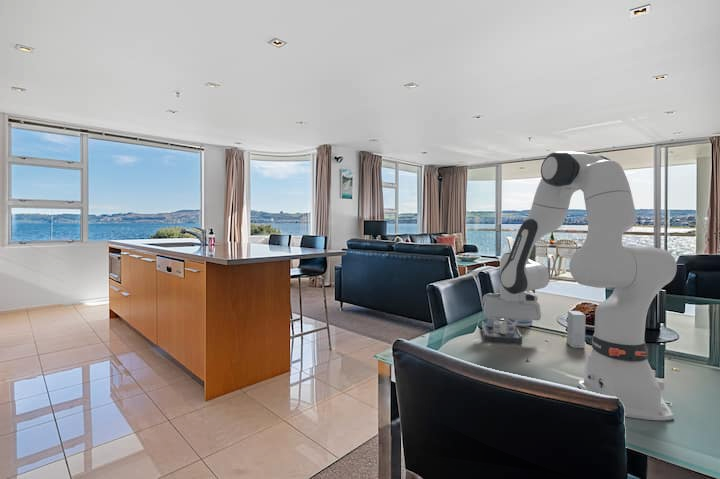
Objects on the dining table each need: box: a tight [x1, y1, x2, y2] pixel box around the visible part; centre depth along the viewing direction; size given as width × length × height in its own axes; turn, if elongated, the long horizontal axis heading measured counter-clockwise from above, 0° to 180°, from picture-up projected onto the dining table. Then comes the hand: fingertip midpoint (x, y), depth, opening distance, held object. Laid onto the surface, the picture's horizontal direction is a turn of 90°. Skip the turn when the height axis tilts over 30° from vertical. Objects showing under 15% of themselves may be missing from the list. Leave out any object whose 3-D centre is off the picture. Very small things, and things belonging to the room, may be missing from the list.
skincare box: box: [566, 310, 587, 349], centre depth 137 cm, size 6×4×12 cm
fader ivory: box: [499, 320, 507, 334], centre depth 145 cm, size 4×2×4 cm, turn 166°
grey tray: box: [481, 320, 523, 345], centre depth 149 cm, size 18×13×3 cm
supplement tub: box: [507, 291, 533, 328], centre depth 163 cm, size 10×10×15 cm
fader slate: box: [486, 317, 495, 327], centre depth 153 cm, size 4×2×4 cm, turn 166°
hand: (511, 329), depth 144 cm, fingers closed
